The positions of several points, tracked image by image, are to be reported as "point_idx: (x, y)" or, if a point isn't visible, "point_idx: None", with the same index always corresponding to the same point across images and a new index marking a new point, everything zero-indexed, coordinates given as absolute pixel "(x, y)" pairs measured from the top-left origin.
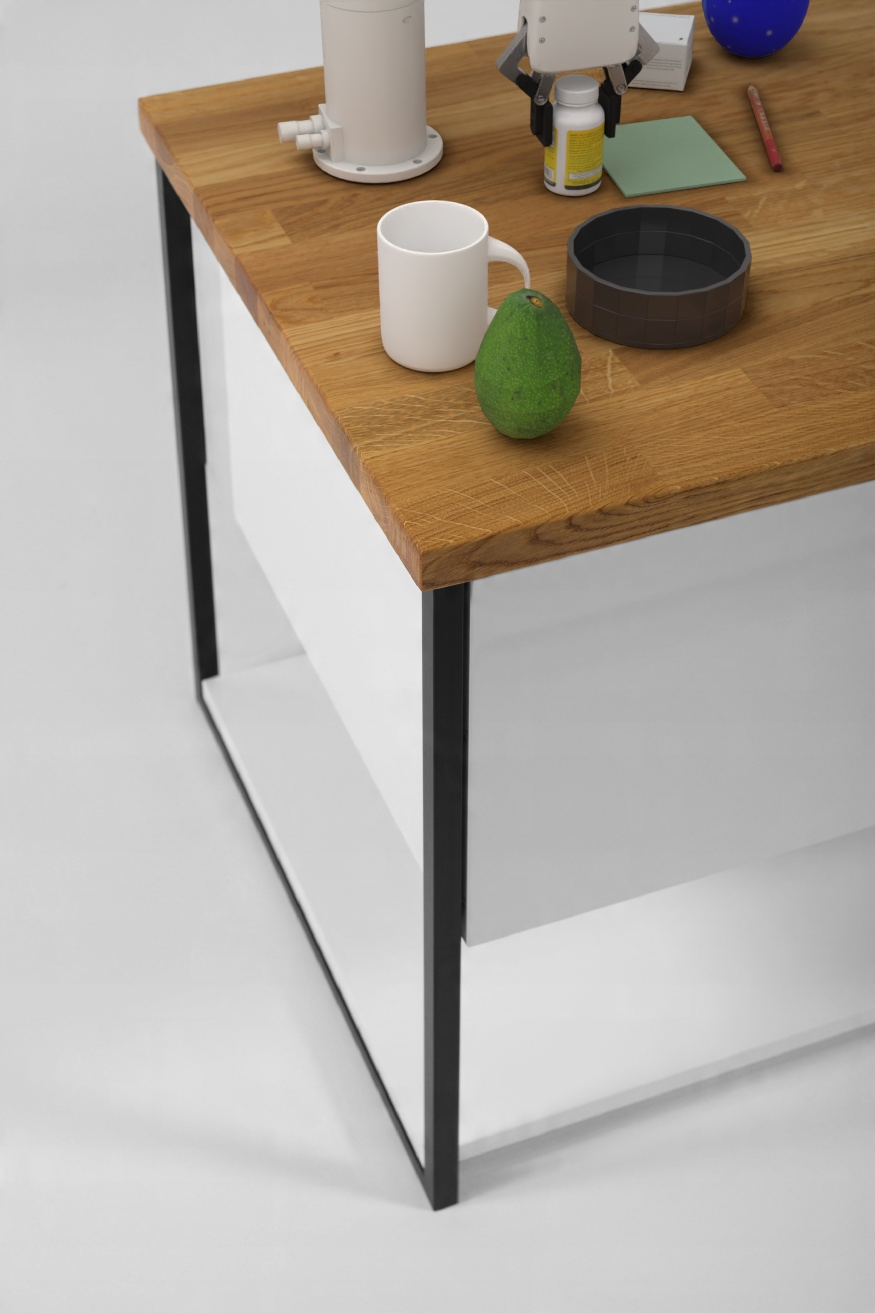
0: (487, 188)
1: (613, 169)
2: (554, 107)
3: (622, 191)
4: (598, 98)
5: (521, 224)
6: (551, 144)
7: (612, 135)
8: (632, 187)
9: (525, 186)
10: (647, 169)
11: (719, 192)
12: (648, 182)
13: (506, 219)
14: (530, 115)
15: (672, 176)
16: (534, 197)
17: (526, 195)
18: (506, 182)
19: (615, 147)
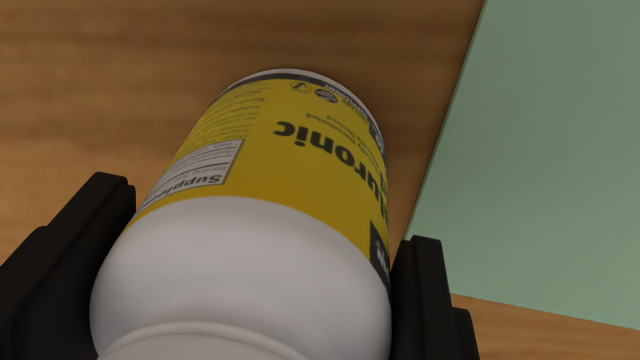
0: (19, 45)
1: (458, 152)
2: (113, 339)
3: None
4: (409, 337)
5: None
6: None
7: None
8: None
9: (147, 92)
10: (555, 198)
11: (624, 351)
12: (493, 260)
13: (43, 224)
14: (4, 265)
15: (583, 262)
16: (152, 162)
17: (132, 142)
18: (92, 37)
19: (591, 7)
